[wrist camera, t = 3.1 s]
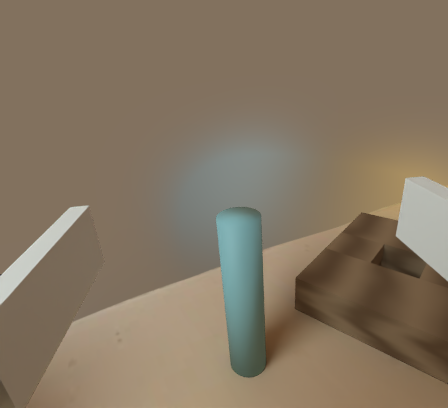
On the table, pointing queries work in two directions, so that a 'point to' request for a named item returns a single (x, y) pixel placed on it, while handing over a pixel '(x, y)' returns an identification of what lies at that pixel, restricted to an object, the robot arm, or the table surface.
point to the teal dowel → (243, 287)
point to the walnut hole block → (380, 294)
